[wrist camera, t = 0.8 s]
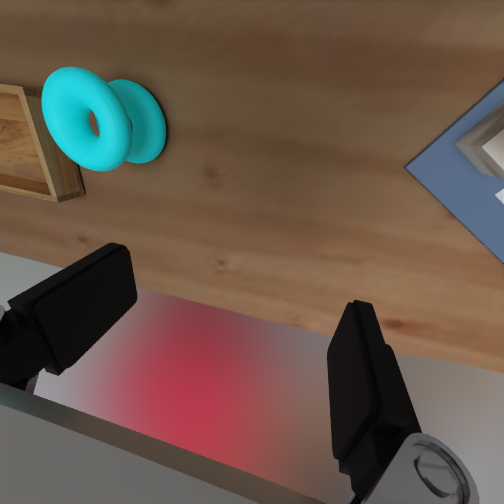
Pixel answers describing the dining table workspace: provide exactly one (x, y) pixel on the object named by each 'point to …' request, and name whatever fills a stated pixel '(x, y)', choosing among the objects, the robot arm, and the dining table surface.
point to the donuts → (102, 119)
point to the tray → (32, 150)
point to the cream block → (486, 143)
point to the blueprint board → (465, 178)
